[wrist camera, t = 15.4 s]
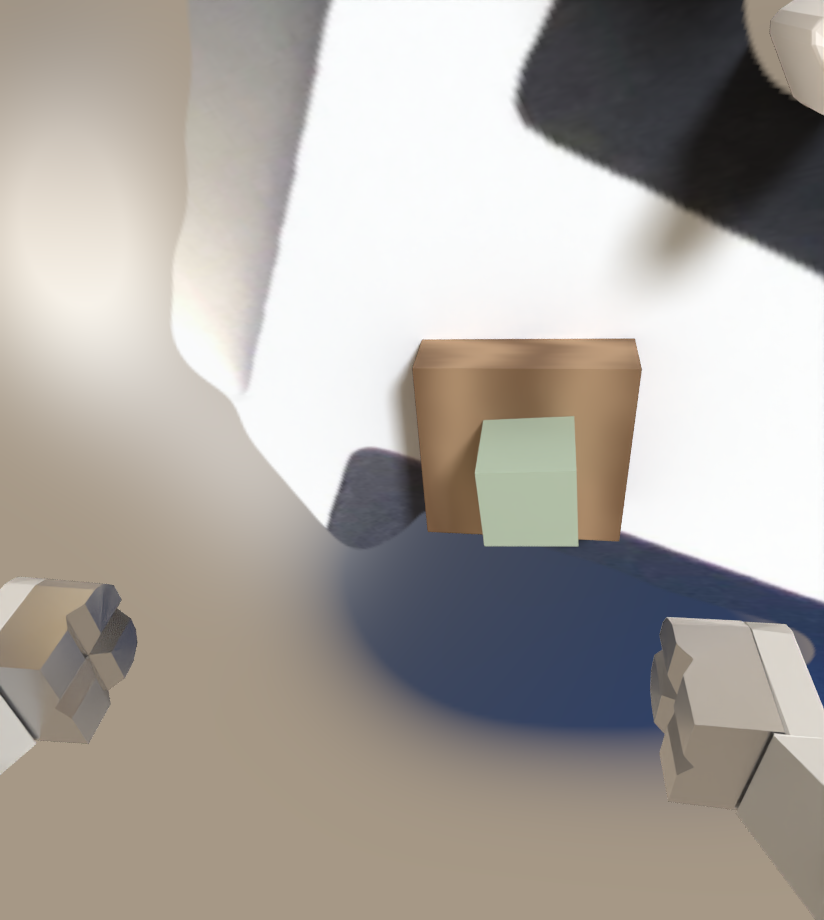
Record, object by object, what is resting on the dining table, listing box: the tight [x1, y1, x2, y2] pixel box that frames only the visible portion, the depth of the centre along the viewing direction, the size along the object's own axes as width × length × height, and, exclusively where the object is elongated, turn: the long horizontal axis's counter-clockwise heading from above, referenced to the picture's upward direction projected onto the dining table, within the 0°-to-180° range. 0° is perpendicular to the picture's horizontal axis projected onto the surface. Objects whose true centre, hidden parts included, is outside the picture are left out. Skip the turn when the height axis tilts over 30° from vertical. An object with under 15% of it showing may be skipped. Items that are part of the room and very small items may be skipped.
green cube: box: [475, 416, 578, 546], centre depth 36 cm, size 5×5×5 cm
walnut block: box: [412, 339, 642, 541], centre depth 40 cm, size 12×12×4 cm
